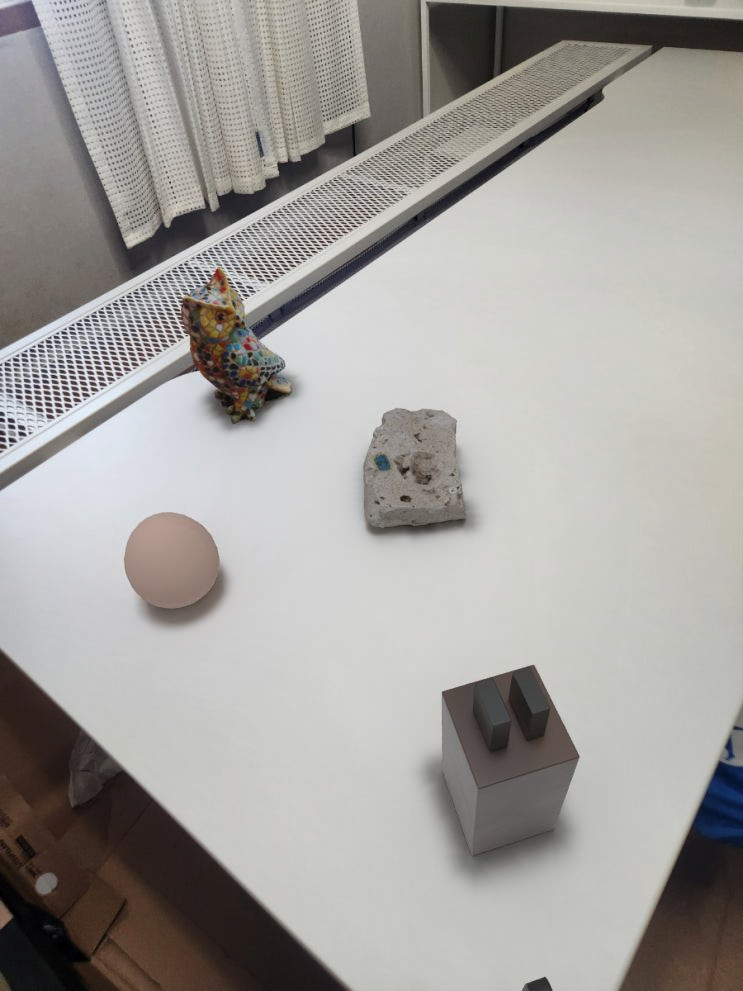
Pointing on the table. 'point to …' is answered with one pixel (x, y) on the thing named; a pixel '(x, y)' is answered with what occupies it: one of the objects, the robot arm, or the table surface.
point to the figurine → (230, 350)
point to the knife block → (505, 758)
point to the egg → (171, 560)
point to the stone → (413, 470)
